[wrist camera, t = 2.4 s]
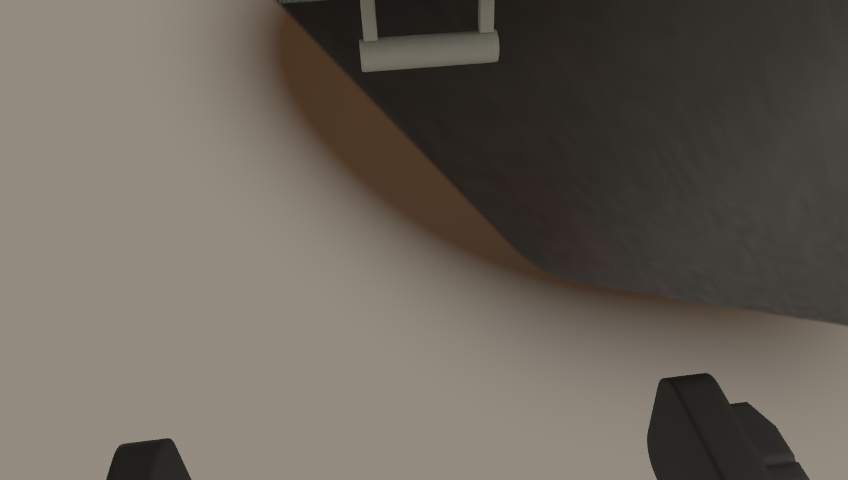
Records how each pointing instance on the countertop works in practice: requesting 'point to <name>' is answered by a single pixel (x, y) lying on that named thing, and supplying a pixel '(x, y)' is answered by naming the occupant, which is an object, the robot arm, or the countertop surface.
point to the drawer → (425, 43)
